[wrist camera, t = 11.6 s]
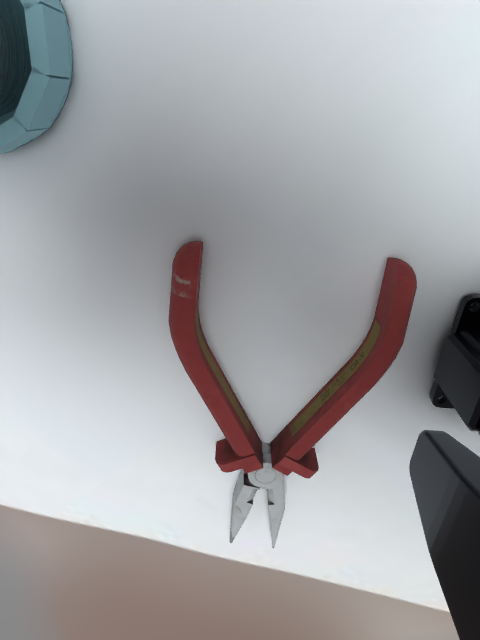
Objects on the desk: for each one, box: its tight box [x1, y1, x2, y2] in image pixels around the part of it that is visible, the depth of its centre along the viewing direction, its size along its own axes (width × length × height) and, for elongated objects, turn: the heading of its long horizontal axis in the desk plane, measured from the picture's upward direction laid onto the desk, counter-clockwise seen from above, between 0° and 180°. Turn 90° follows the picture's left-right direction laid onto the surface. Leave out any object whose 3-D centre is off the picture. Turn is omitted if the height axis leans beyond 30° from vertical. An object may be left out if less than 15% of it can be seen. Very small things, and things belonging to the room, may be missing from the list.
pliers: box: [169, 241, 417, 548], centre depth 24 cm, size 12×20×3 cm, turn 175°
